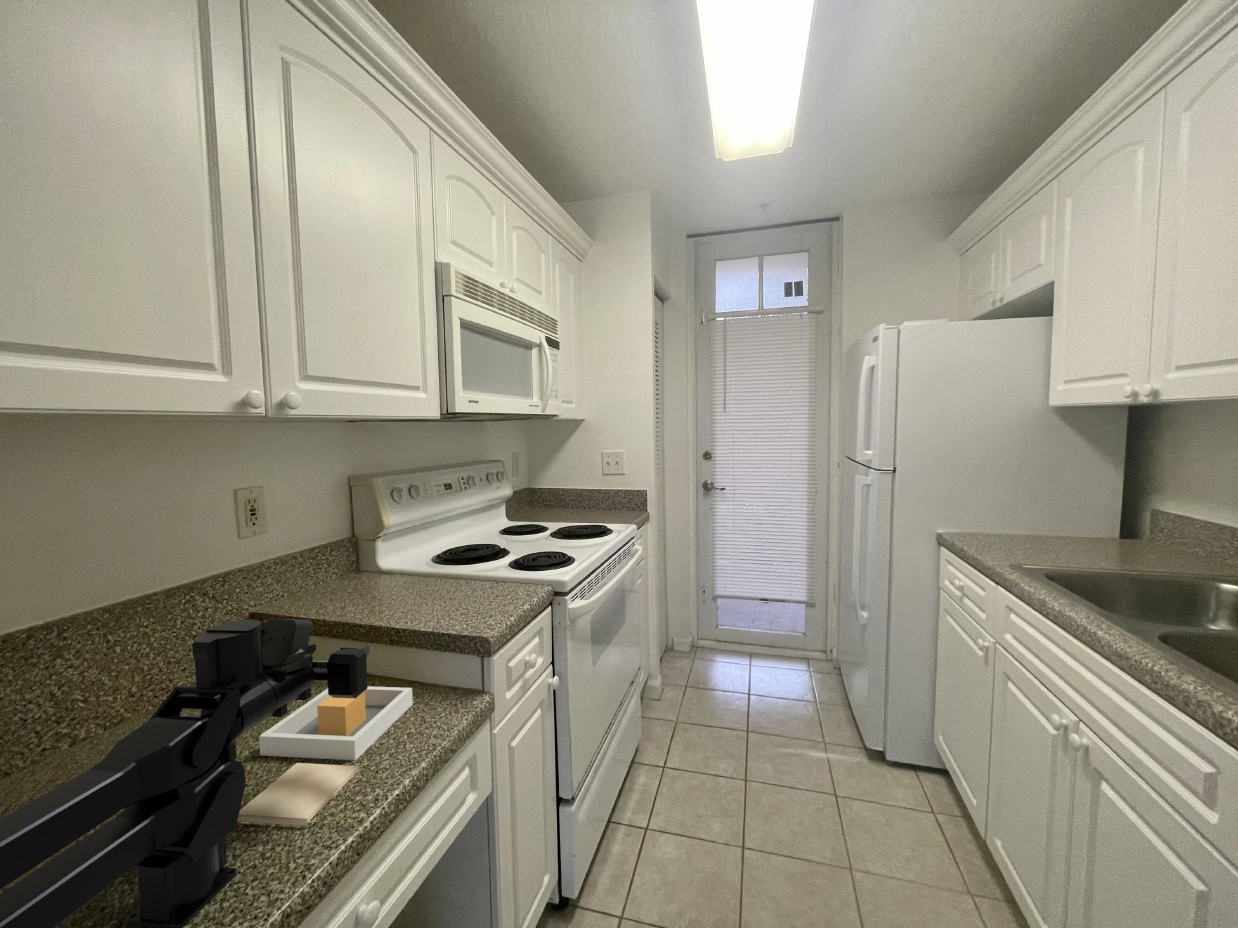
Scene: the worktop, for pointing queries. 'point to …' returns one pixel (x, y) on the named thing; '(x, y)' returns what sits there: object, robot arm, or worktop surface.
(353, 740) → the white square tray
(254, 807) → the pad
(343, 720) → the block
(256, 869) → the worktop surface
